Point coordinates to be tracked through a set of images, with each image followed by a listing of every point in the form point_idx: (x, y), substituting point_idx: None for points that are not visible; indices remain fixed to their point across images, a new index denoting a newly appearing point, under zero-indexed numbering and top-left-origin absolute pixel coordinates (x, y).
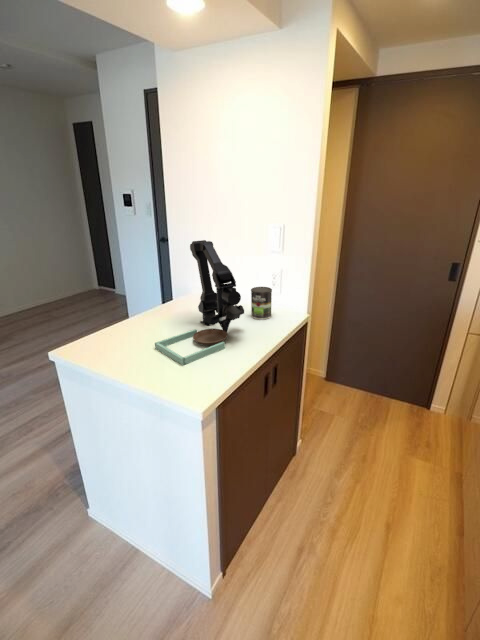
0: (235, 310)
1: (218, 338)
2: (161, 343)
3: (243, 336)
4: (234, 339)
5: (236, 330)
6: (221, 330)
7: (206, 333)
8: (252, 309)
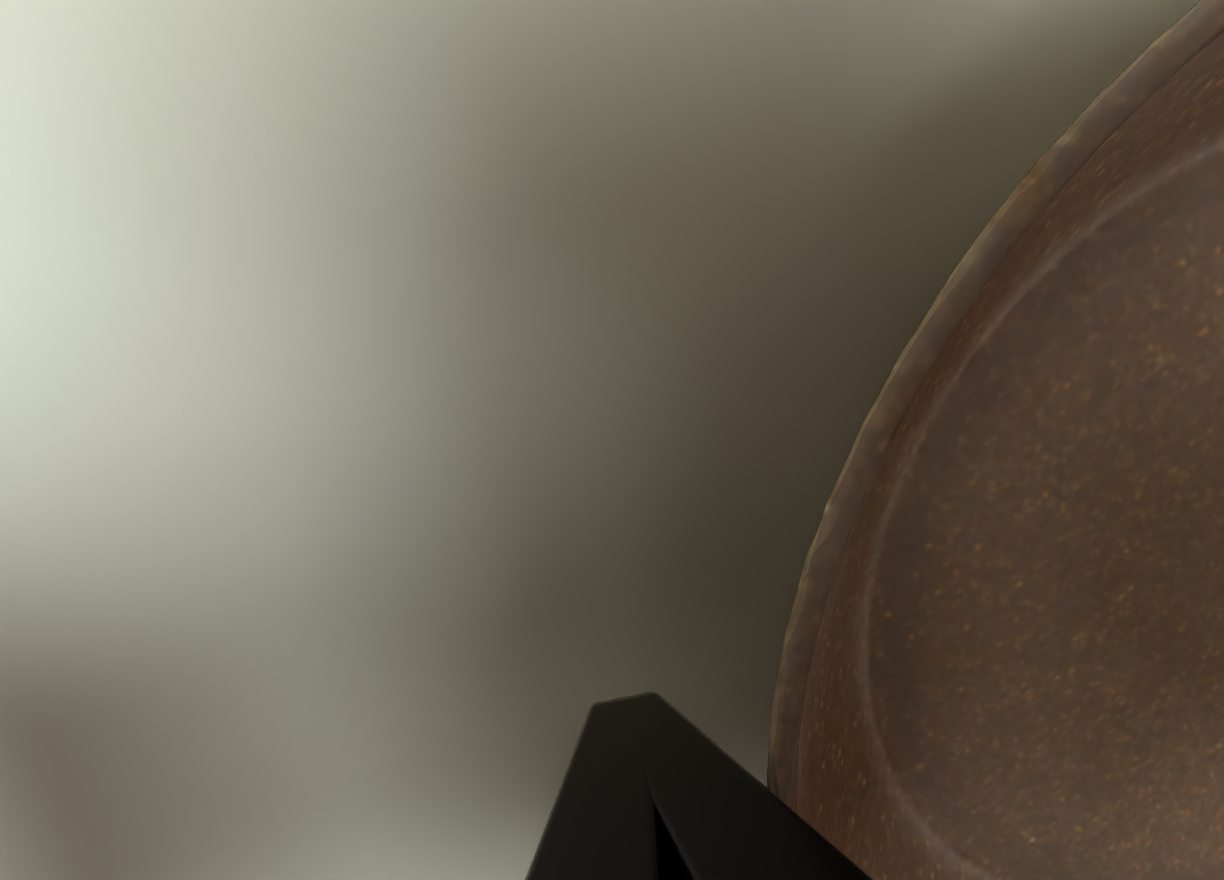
0: None
1: (1056, 502)
2: None
3: (33, 72)
4: (593, 81)
5: (30, 796)
6: None
7: None
8: None
